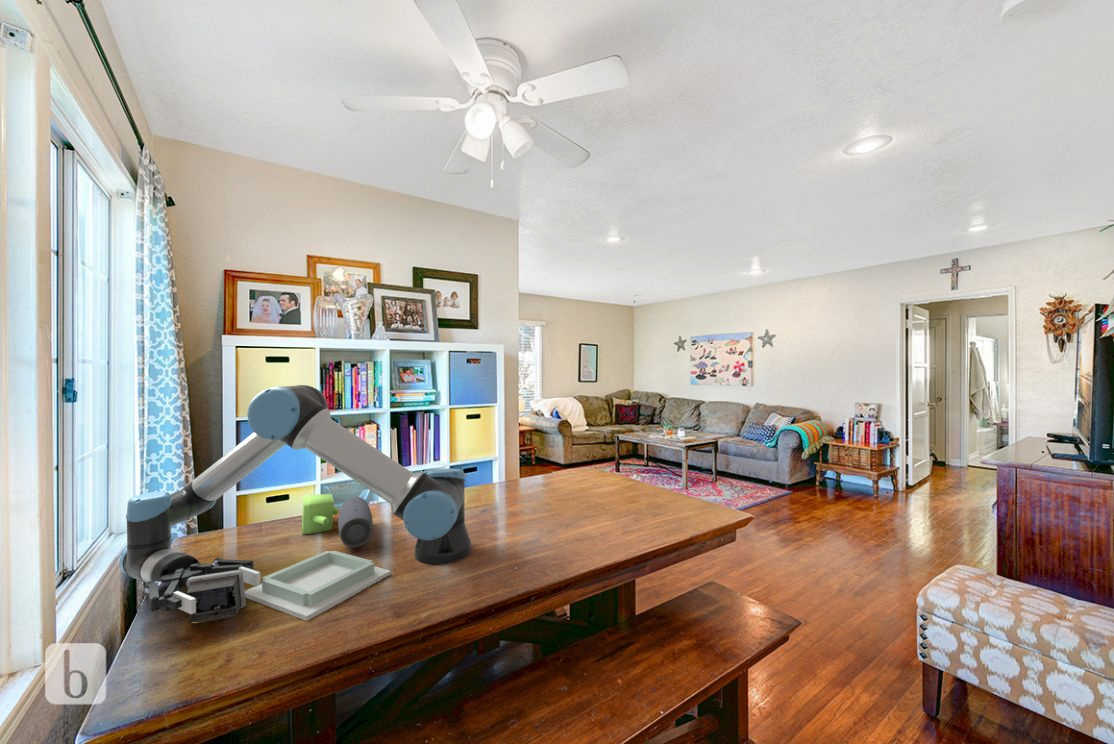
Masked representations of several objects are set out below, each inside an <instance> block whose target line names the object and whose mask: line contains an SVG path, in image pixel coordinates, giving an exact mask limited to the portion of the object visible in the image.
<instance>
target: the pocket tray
mask: <svg viewBox="0 0 1114 744" xmlns="http://www.w3.org/2000/svg"><path fill="white" fill-rule="evenodd" d="M391 574H392V571H391V570H389V569H385V568H382V567H378V566H375V562H373V560H370V559H367V558H364V557H359V556H356V555H352V554H349V553H345V552H342V551H341V552H340V551H336V550H331V551H330V550H326V551H323V552H321V553H318V554H316V555H313V556H311V557H309V558H306V559H304V560H301V561H299V562H297V563H294V564H292V565H290V566H287V567H285V568H282V569H279V570H277V571H275V572H272V573H271V574H270V573H269V574H267V575H266V576H263V577H261V583H260V585H259V586H253V587H251V588H248V589H246V590H245V597H246V598H245V599H248V600H251V601H253V602H257V603H259V604H261V605H264V606H266V607H269V608H271V609H275V610H277V611H280V612H282V613H285V614H287V615H290V616H293V617H295V618H298V619H301V620H303V621H306V622H307V621H309V620H311V619H313V618H314V617H317V616H319V615H320V614H322V613H324V612H326V611H328V610H329V609H331V608H333V607H335V606H336V605H338V604H340V603H342V602H344V601H346V600H347V599H349V598H351V597H353V596H354V595H356V593H357V594H358V593H360V592H362V591H364V590H366V589H367V587H368V588H370V585H371V586H373V585H375V584H377V583H378V582H380V581H382V580H384V579H385V577H386V578H387V576H388V577H389V576H391ZM383 578H384V579H383ZM381 579H382V580H381ZM379 580H380V581H379ZM377 581H378V582H377ZM376 582H377V583H376ZM374 583H375V584H374ZM372 584H373V585H372ZM365 588H366V589H365ZM363 589H364V590H363ZM361 590H362V591H361Z"/></svg>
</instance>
